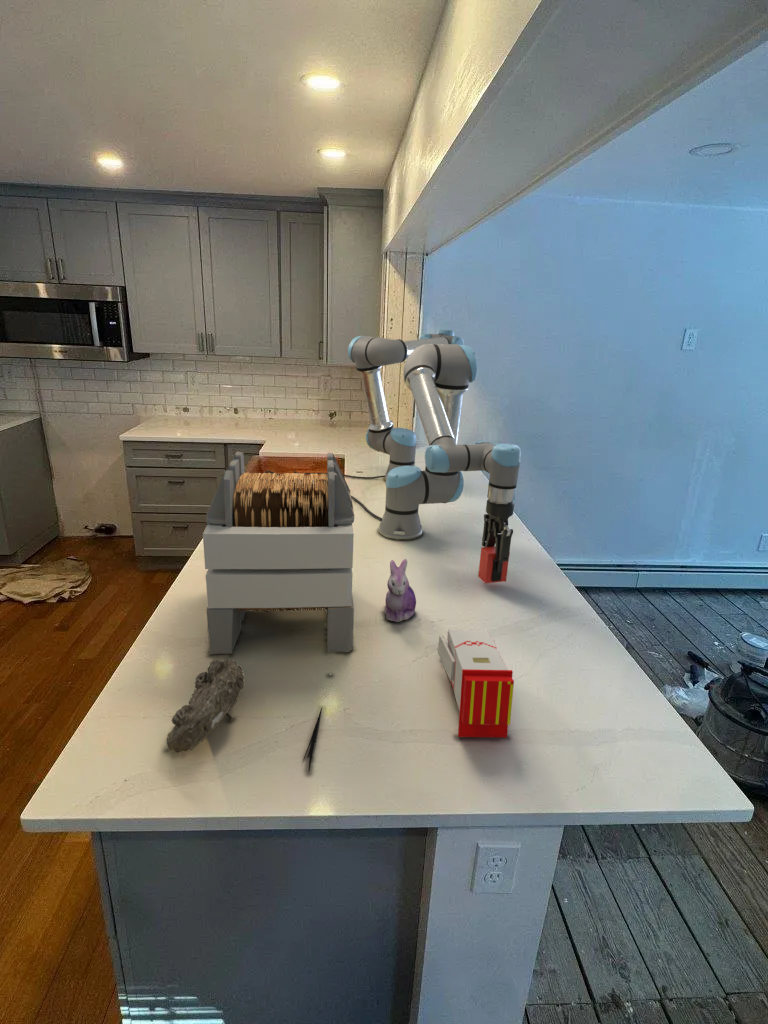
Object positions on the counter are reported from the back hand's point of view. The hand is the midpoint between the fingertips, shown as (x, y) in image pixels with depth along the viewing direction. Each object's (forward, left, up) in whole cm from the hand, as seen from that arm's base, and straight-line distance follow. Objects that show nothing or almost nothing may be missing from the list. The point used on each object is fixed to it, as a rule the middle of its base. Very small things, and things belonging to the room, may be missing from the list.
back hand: (441, 406), depth 285 cm
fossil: (+30, -204, -29) cm, 208 cm away
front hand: (+62, -123, -26) cm, 140 cm away
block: (+62, -122, -27) cm, 140 cm away
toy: (+72, -173, -29) cm, 190 cm away
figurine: (+46, -151, -29) cm, 161 cm away
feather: (+48, -195, -29) cm, 203 cm away
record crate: (+21, -167, -29) cm, 171 cm away
